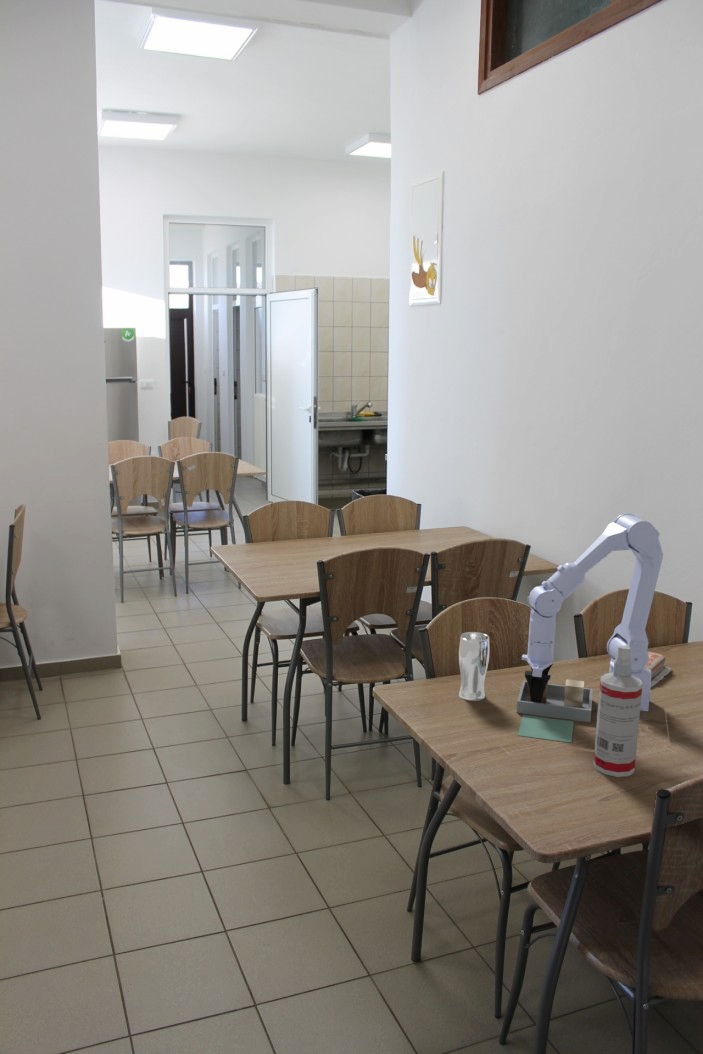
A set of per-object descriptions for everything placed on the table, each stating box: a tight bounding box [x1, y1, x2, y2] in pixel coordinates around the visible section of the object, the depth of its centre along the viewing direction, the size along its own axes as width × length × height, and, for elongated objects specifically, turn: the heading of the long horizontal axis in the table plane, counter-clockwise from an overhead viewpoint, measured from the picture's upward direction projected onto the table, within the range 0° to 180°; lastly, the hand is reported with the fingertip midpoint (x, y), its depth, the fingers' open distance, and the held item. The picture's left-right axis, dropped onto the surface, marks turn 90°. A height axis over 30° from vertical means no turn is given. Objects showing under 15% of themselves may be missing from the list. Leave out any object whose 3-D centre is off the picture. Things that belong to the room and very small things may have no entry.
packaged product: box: [644, 650, 673, 688], centre depth 223 cm, size 18×5×10 cm
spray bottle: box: [593, 645, 642, 778], centre depth 172 cm, size 8×8×25 cm
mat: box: [517, 714, 575, 744], centre depth 190 cm, size 11×11×1 cm
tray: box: [516, 680, 594, 723], centre depth 202 cm, size 16×13×3 cm
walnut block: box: [528, 681, 549, 704], centre depth 203 cm, size 4×4×6 cm
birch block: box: [564, 679, 585, 708], centre depth 201 cm, size 4×4×6 cm
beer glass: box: [458, 631, 490, 702], centre depth 206 cm, size 7×7×15 cm
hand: (537, 695), depth 203 cm, fingers open, 7 cm apart
